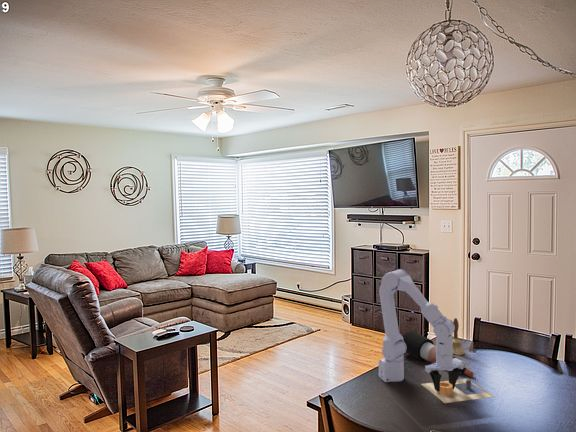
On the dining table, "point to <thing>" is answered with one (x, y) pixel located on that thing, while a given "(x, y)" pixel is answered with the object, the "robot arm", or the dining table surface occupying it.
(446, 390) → the orange hexagonal nut
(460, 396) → the cream flat rectangular board
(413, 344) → the cable
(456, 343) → the hand bell
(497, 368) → the dining table surface
